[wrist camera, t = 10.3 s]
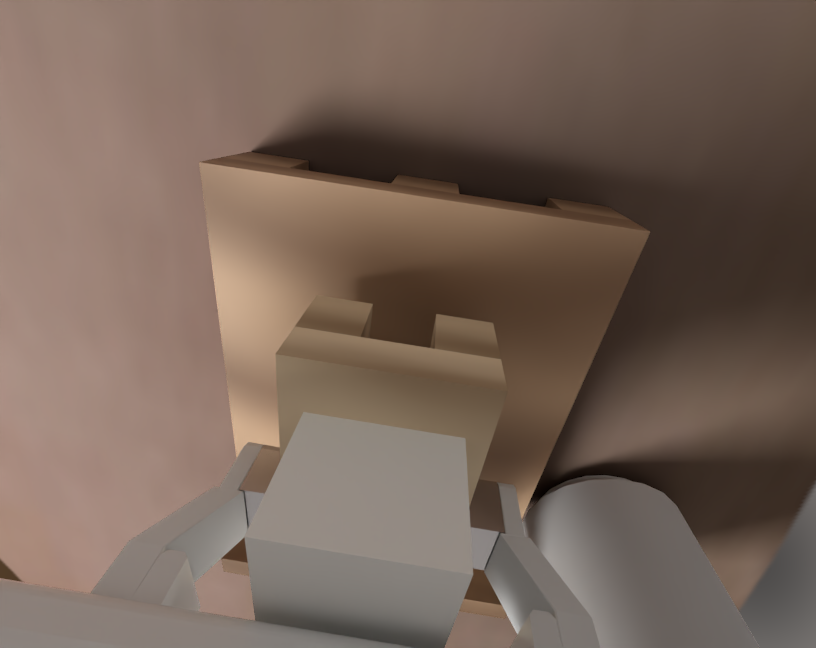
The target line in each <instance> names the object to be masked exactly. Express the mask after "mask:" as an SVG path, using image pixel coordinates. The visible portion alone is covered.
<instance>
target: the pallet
mask: <svg viewBox="0 0 816 648" xmlns="http://www.w3.org/2000/svg"><path fill="white" fill-rule="evenodd" d="M372 308H373V304H371V303H364V302H358V301H352V300H345V299H339V298H333V297H326V296H320V295H316V297H315V298H314V300H313V301H312V302H311V304H310V305H309V307H308V308H307V310H306V311H305V312H304V314H303V315H302V317H301V318H300V320H299V321H298V322H297V324H296V325H295V327H294V328H293V330H292V331H291V332H290V334H289V335H288V337H287V338H286V340H285V341H284V342H283V344H282V345H281V347H280V348H279V350H278V351H277V352H276V354H275V358H276V379H277V400H278V421H279V442H280V460H281V458H282V456H283V454H284V452H285V450H286V448H287V446H288V444H289V441H290V439H291V437H292V435H293V433H294V431H295V429H296V427H297V424H298V422H299V420H300V418H301V416H302V414H303V412H307V413H313V414H319V415H326V416H332V417H338V418H344V419H350V420H356V421H363V422H369V423H375V424H381V425H387V426H393V427H400V428H406V429H412V430H418V431H424V432H430V433H437V434H443V435H449V436H455V437H461V438H465V440H466V457H467V474H468V492H469V506H470V504H471V501H472V498H473V495H474V492H475V489H476V486H477V483H478V480H479V477H480V474H481V471H482V468H483V465H484V462H485V459H486V456H487V453H488V450H489V447H490V444H491V441H492V438H493V435H494V432H495V429H496V426H497V423H498V420H499V417H500V414H501V411H502V408H503V405H504V402H505V399H506V396H507V393H508V389H507V384H506V380H505V375H504V371H503V366H502V362H501V357H500V352H499V348H498V343H497V339H496V334H495V329H494V325H493V323H491V322H484V321H478V320H472V319H465V318H459V317H453V316H446V315H440V314H436V319H435V324H434V329H433V334H432V340H431V345H430V348H427V347H421V346H414V345H408V344H402V343H395V342H389V341H383V340H377V339H370V329H371V319H372Z"/></svg>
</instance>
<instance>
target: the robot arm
mask: <svg viewBox="0 0 816 648" xmlns="http://www.w3.org/2000/svg"><path fill="white" fill-rule="evenodd" d="M279 463H280V447H275V446H269V445H264V444H258V443H252V442H248V443H247V444H246V445H245V446H244V447H243V449H242V450H241V452H240V454H239V455H238V457H237V459H236V460H235V462H234V463H233V465H232V467H231V468H230V470H229V472H228V473H227V475H226V477H225V478H224V480H223V482H222V483H221V485H220V487H215V486H214V487H213V488H211V489H209V490H208V491H206V492H205V493H203V494H202V495H200V496H199V497H197V498H195V499H194V500H192V501H191V502H189V503H188V504H186V505H184V506H183V507H181V508H180V509H178V510H177V511H175V512H173V513H172V514H170V515H169V516H167V517H166V518H164V519H162V520H161V521H159V522H158V523H156V524H155V525H153V526H151V527H150V528H148V529H147V530H145V531H144V532H142V533H140V534H139V535H137V536H136V537H134V538H133V539H131V540H130V541H129V542H128V543H127V544H126V546H125V547H124V548H123V550H122V551H121V552H120V554H119V555H118V556H117V558H116V559H115V560H114V562H113V563H112V565H111V566H110V567H109V569H108V570H107V571H106V573H105V574H104V575H103V577H102V578H101V579H100V581H99V582H98V583H97V585H96V586H95V587H94V589H93V590H92V592H91V593H85V592H79V591H73V590H67V589H61V588H55V587H49V586H43V585H37V584H31V583H25V582H18V581H12V580H7V579H1V578H0V648H415V647H409V646H403V645H397V644H391V643H385V642H379V641H373V640H367V639H361V638H355V637H349V636H343V635H337V634H331V633H325V632H319V631H313V630H307V629H301V628H295V627H289V626H283V625H277V624H271V623H265V622H259V621H253V620H247V619H241V618H235V617H229V616H223V615H217V614H211V613H205V612H199V609H200V603H199V600H198V596H197V592H196V588H195V585H194V582H196V581H197V580H198V579H199V578H200V577H201V576H202V575H203V574H204V573H206V572H207V571H208V570H209V569H210V568H211V567H212V566H213V565H214V564H215V563H217V562H218V561H219V560H220V559H221V558H222V557H223V556H224V555H225V554H226V553H228V552H229V551H230V550H231V549H232V548H233V547H234V546H235V545H236V544H238V543H239V542H240V541H241V540H242V539H243V538H244V537H245V534H246V532H247V530H248V528H249V526H250V524H251V522H252V520H253V518H254V515H255V513H256V511H257V509H258V507H259V505H260V503H261V501H262V499H263V496H264V494H265V492H266V490H267V488H268V486H269V484H270V482H271V479H272V477H273V475H274V473H275V471H276V469H277V467H278V465H279ZM469 509H470V527H471V544H472V561H473V568H474V569H479V570H484V573H485V575H486V576H487V578H488V580H489V582H490V584H491V586H492V588H493V589H494V591H495V593H496V595H497V597H498V599H499V601H500V603H501V604H502V606H503V608H504V610H505V612H506V614H507V616H508V617H509V619H510V621H511V623H512V625H513V627H514V629H515V631H516V632H517V634H518V635H517V636H516V638H515V640H514V641H513V643H512V645H511V646H510V648H600V644H599V641H598V637H597V634H596V630H595V627H594V623H593V620H592V617H591V616H590V615H589V613H588V612H587V611H586V610H585V608H584V607H583V606H582V604H581V603H580V602H579V601H578V599H577V598H576V597H575V595H574V594H573V593H572V592H571V590H570V589H569V588H568V586H567V585H566V584H565V583H564V581H563V580H562V579H561V577H560V576H559V575H558V574H557V572H556V571H555V570H554V568H553V567H552V566H551V564H550V563H549V562H548V561H547V559H546V558H545V557H544V555H543V554H542V553H541V552H540V550H539V549H538V548H537V546H536V545H535V544H534V543H533V541H532V540H531V539H530V538H527V537H525V535H524V529H523V524H522V519H521V514H520V508H519V503H518V498H517V493H516V488H515V486H514V485H510V484H504V483H498V482H497V483H496V482H494V481H487V480H480V479H479V480H478V483H477V486H476V489H475V492H474V495H473V498H472V501H471V504H470V506H469Z"/></svg>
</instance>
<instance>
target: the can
mask: <svg viewBox="0 0 816 648" xmlns="http://www.w3.org/2000/svg"><path fill="white" fill-rule="evenodd" d="M522 524H523V529H524V535H525V537H527V538H530V539H531V540H532V541H533V543H534V544H535V545H536V546H537V548H538V549H539V550H540V552H541V553H542V554H543V555H544V557H545V558H546V559H547V561H548V562H549V563H550V564H551V566H552V567H553V568H554V570H555V571H556V572H557V574H558V575H559V576H560V577H561V579H562V580H563V581H564V583H565V584H566V585H567V586H568V588H569V589H570V590H571V592H572V593H573V594H574V595H575V597H576V598H577V599H578V601H579V602H580V603H581V604H582V606H583V607H584V608H585V610H586V611H587V612H588V613H589V615H590V616H591V617H592V620H593V623H594V627H595V630H596V634H597V637H598V641H599V644H600V648H760V647H759V646H758V644H757V642H756V641H755V639H754V637H753V635H752V634H751V632H750V630H749V628H748V627H747V625H746V623H745V622H744V620H743V618H742V617H741V615H740V613H739V611H738V610H737V608H736V606H735V604H734V603H733V601H732V599H731V598H730V596H729V594H728V592H727V591H726V589H725V587H724V586H723V584H722V582H721V581H720V579H719V577H718V575H717V574H716V572H715V570H714V569H713V567H712V565H711V563H710V562H709V560H708V558H707V557H706V555H705V553H704V551H703V550H702V548H701V546H700V545H699V543H698V541H697V539H696V538H695V536H694V534H693V533H692V531H691V529H690V527H689V526H688V524H687V522H686V521H685V519H684V517H683V515H682V514H681V512H680V510H679V509H678V507H677V505H676V504H675V503H674V502H673V501H671V500H670V499H669V498H668V497H667V496H666V495H665V494H664V493H663V492H661V491H659V490H656V489H654V488H652V487H650V486H648V485H645V484H643V483H638V482H632V481H630V480H628V479H626V478H621V477H615V476H609V475H595V476H583V477H579V478H575V479H572V480H568V481H565V482H563V483H561V484H559V485H557V486H555V487H553V488H551V489H550V490H549V491H548V492H547V493H546V494H544V495H543V496H542V497H541V498H540V499H539V501H538V502H537V503H536V504H535V505H534V506H533V507H532V508H530V509H529V510H528V512H527V515H526V517H525V519H524V521H523V523H522Z"/></svg>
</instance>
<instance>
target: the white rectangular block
mask: <svg viewBox="0 0 816 648" xmlns="http://www.w3.org/2000/svg"><path fill="white" fill-rule="evenodd" d="M244 538H245V545H246V553H247V560H248V568H249V575H250V583H251V590H252V598H253V605H254V613H255V620H256V621H259V622H265V623H271V624H277V625H283V626H289V627H295V628H301V629H307V630H313V631H319V632H325V633H331V634H337V635H343V636H349V637H355V638H361V639H367V640H373V641H379V642H385V643H391V644H397V645H403V646H409V647H415V648H444V647H445V645H446V642H447V640H448V637H449V635H450V632H451V629H452V627H453V624H454V622H455V619H456V617H457V614H458V612H459V609H460V607H461V604H462V602H463V599H464V597H465V594H466V592H467V589H468V587H469V584H470V582H471V579H472V577H473V561H472V544H471V527H470V509H469V492H468V474H467V457H466V440H465V438H461V437H455V436H449V435H443V434H437V433H430V432H424V431H418V430H412V429H406V428H400V427H393V426H387V425H381V424H375V423H369V422H363V421H356V420H350V419H344V418H338V417H332V416H326V415H319V414H313V413H307V412H303V414H302V416H301V418H300V420H299V422H298V424H297V427H296V429H295V431H294V433H293V435H292V437H291V439H290V441H289V444H288V446H287V448H286V450H285V452H284V454H283V456H282V458H281V460H280V463H279V465H278V467H277V469H276V471H275V473H274V475H273V477H272V479H271V482H270V484H269V486H268V488H267V490H266V492H265V494H264V496H263V499H262V501H261V503H260V505H259V507H258V509H257V511H256V513H255V515H254V518H253V520H252V522H251V524H250V526H249V528H248V530H247V532H246V534H245V537H244Z"/></svg>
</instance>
